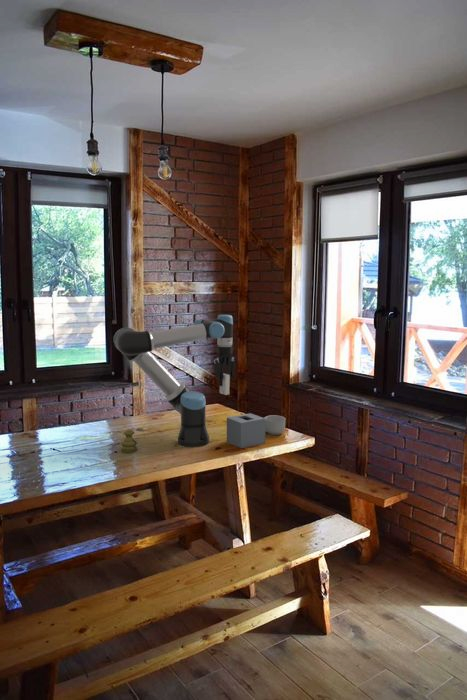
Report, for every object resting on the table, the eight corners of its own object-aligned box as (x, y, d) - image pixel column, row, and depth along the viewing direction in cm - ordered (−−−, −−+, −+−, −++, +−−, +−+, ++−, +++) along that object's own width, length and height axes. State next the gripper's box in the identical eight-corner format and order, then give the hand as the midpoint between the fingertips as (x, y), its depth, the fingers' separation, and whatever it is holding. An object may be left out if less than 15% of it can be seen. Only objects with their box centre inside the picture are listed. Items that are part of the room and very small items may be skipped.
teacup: (285, 430, 297) (285, 415, 296) (285, 436, 286) (285, 421, 285) (258, 429, 298) (258, 414, 297) (257, 435, 287) (257, 420, 286)
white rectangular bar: (225, 395, 291) (225, 375, 290) (219, 393, 295) (219, 373, 294) (229, 394, 292) (229, 374, 291) (223, 392, 296) (223, 373, 295)
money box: (240, 448, 268) (241, 423, 266) (226, 441, 278) (226, 417, 276) (265, 443, 275) (265, 418, 274) (250, 437, 285) (250, 413, 284)
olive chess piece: (119, 449, 266) (119, 428, 264) (135, 447, 268) (135, 426, 267) (122, 454, 259) (121, 432, 257) (139, 452, 261) (138, 431, 260)
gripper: (216, 347, 283) (216, 395, 286) (241, 345, 292) (241, 391, 295) (207, 346, 289) (207, 392, 292) (233, 343, 298) (232, 388, 301)
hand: (224, 391), depth 294 cm, fingers closed on white rectangular bar, 2 cm apart
